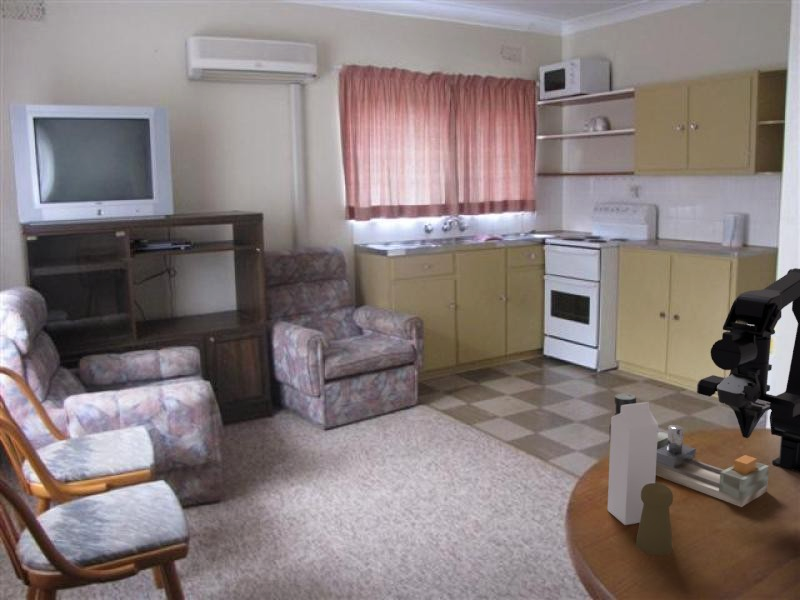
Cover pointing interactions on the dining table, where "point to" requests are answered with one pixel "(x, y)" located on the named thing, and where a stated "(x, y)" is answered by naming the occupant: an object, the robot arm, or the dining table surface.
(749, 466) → the orange block
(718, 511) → the dining table surface
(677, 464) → the carriage
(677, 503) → the dining table surface
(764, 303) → the robot arm
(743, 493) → the rail track
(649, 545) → the olive pawn
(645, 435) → the milk
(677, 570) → the dining table surface
